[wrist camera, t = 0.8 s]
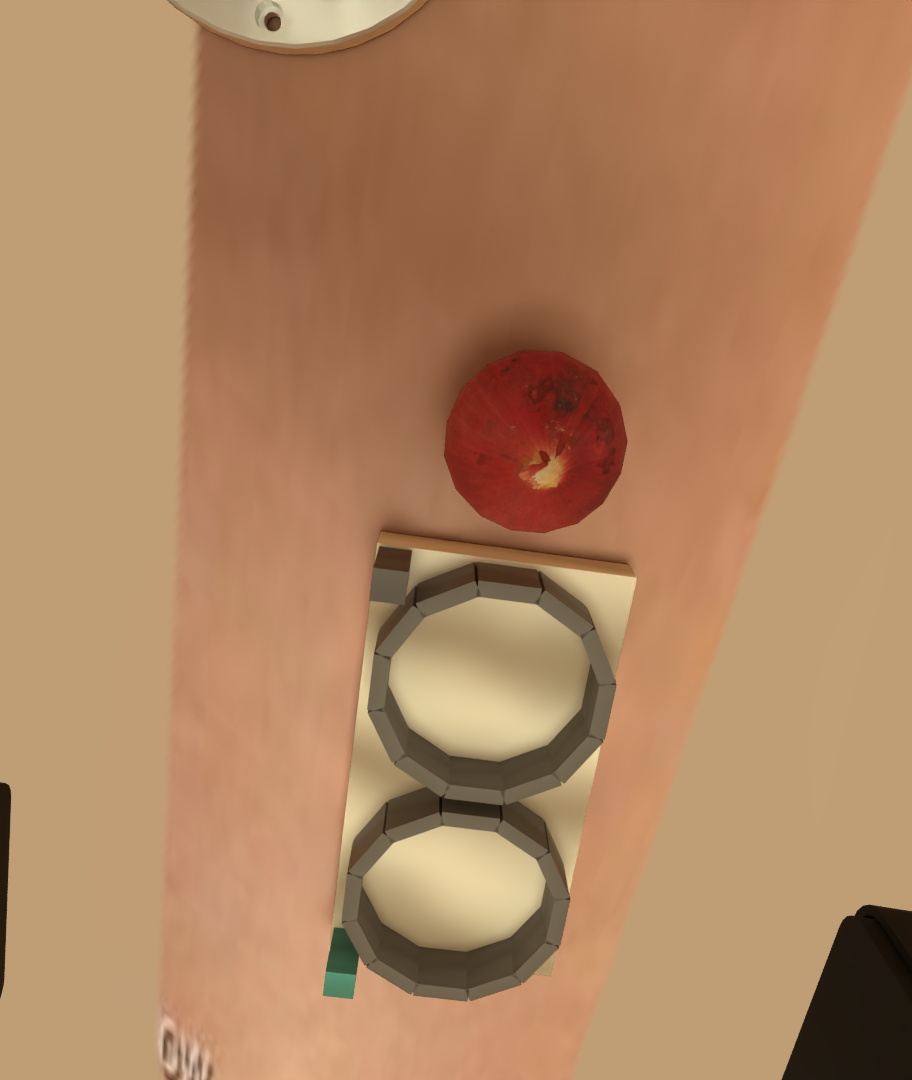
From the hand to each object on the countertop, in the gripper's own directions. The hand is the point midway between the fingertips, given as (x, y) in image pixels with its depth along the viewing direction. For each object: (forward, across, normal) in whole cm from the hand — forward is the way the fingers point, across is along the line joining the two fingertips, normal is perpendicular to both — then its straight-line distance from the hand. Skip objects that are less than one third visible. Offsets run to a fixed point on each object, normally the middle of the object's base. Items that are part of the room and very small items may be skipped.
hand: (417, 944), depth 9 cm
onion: (+23, -2, -3) cm, 24 cm away
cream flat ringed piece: (+23, -3, +11) cm, 26 cm away
